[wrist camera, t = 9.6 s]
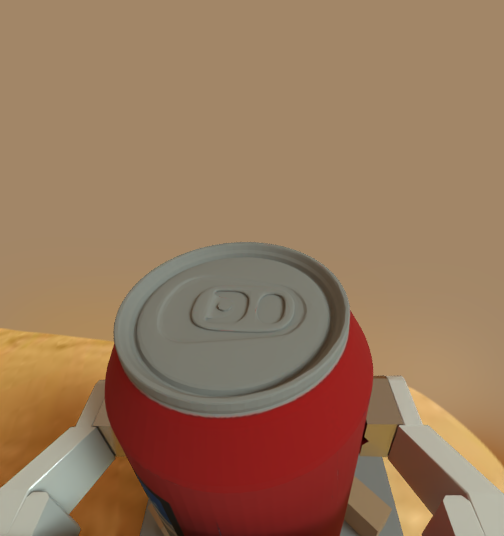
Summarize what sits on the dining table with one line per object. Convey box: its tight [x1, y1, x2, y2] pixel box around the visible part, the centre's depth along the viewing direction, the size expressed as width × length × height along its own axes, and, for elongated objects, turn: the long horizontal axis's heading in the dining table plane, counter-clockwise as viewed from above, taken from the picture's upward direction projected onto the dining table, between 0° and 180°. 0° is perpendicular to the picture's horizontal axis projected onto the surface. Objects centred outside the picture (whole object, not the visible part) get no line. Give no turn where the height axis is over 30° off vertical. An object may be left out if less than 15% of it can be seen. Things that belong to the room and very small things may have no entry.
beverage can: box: [105, 242, 373, 536], centre depth 11 cm, size 7×7×12 cm
